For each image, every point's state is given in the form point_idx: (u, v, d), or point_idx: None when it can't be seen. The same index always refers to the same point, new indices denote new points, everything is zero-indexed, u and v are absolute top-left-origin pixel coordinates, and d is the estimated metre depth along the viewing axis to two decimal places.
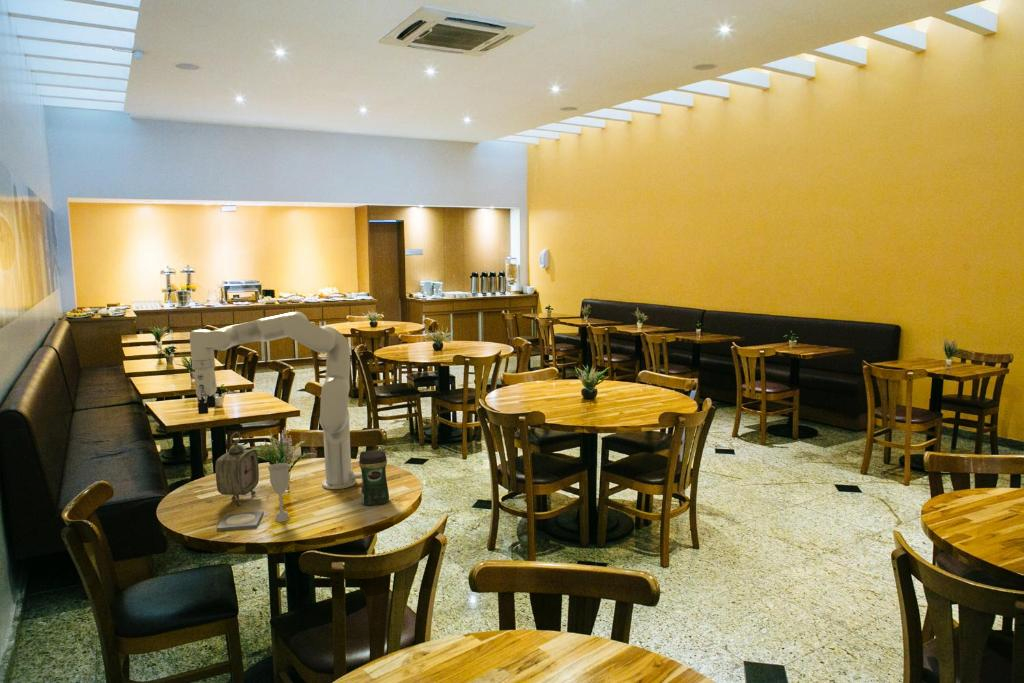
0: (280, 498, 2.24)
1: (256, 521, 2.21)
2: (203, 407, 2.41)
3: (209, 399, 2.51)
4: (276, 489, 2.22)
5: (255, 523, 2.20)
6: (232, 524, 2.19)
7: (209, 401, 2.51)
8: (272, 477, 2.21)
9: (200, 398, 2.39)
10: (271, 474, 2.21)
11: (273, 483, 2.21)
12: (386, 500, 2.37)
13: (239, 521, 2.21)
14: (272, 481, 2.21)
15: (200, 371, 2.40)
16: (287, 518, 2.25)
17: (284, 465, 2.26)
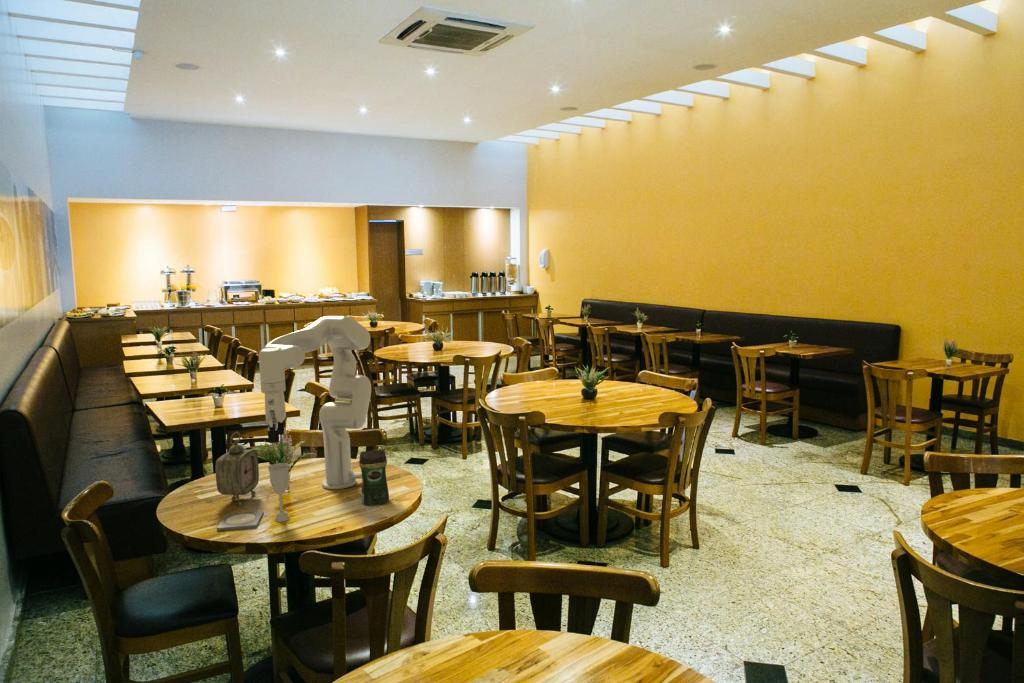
0: (280, 498, 2.24)
1: (256, 521, 2.21)
2: (274, 435, 2.16)
3: (277, 425, 2.26)
4: (276, 489, 2.22)
5: (255, 523, 2.20)
6: (232, 524, 2.19)
7: (277, 427, 2.26)
8: (272, 477, 2.21)
9: (271, 425, 2.13)
10: (271, 474, 2.21)
11: (273, 483, 2.21)
12: (386, 500, 2.37)
13: (239, 521, 2.21)
14: (272, 481, 2.21)
15: (271, 395, 2.15)
16: (287, 518, 2.25)
17: (284, 465, 2.26)
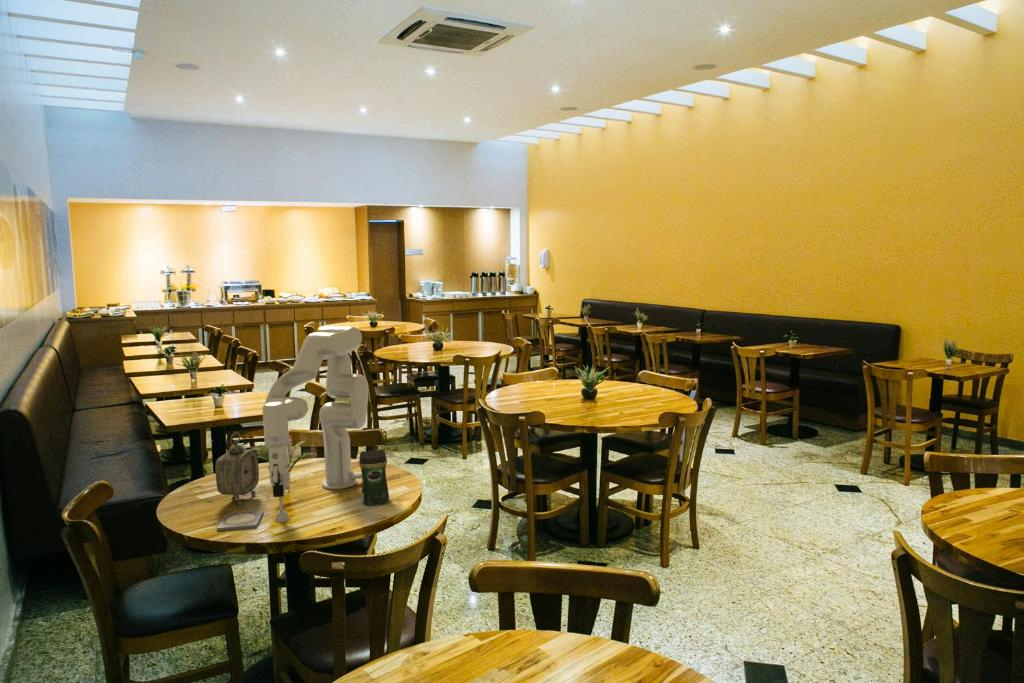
0: (280, 498, 2.24)
1: (256, 521, 2.21)
2: (278, 490, 2.20)
3: None
4: None
5: (255, 523, 2.20)
6: (232, 524, 2.19)
7: None
8: (272, 477, 2.21)
9: (276, 481, 2.17)
10: None
11: None
12: (386, 500, 2.37)
13: (239, 521, 2.21)
14: (272, 481, 2.21)
15: (274, 449, 2.18)
16: (287, 518, 2.25)
17: None
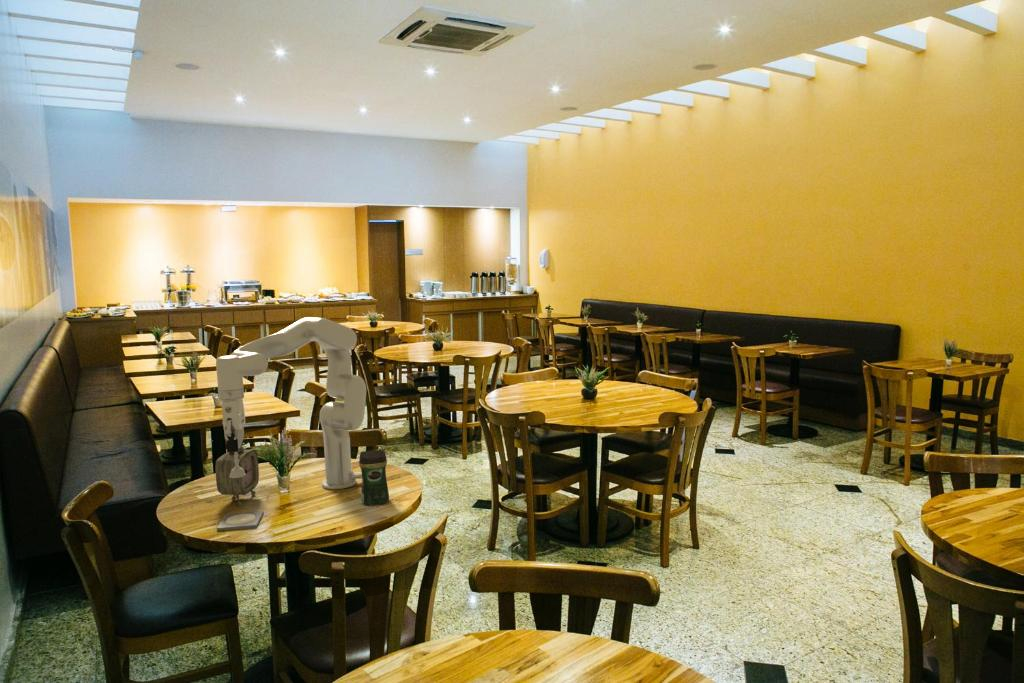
0: (235, 454, 2.20)
1: (256, 521, 2.21)
2: (233, 445, 2.16)
3: None
4: None
5: (255, 523, 2.20)
6: (232, 524, 2.19)
7: None
8: None
9: (230, 435, 2.13)
10: None
11: None
12: (386, 500, 2.37)
13: (239, 521, 2.21)
14: (226, 436, 2.17)
15: (228, 403, 2.14)
16: (242, 474, 2.21)
17: None
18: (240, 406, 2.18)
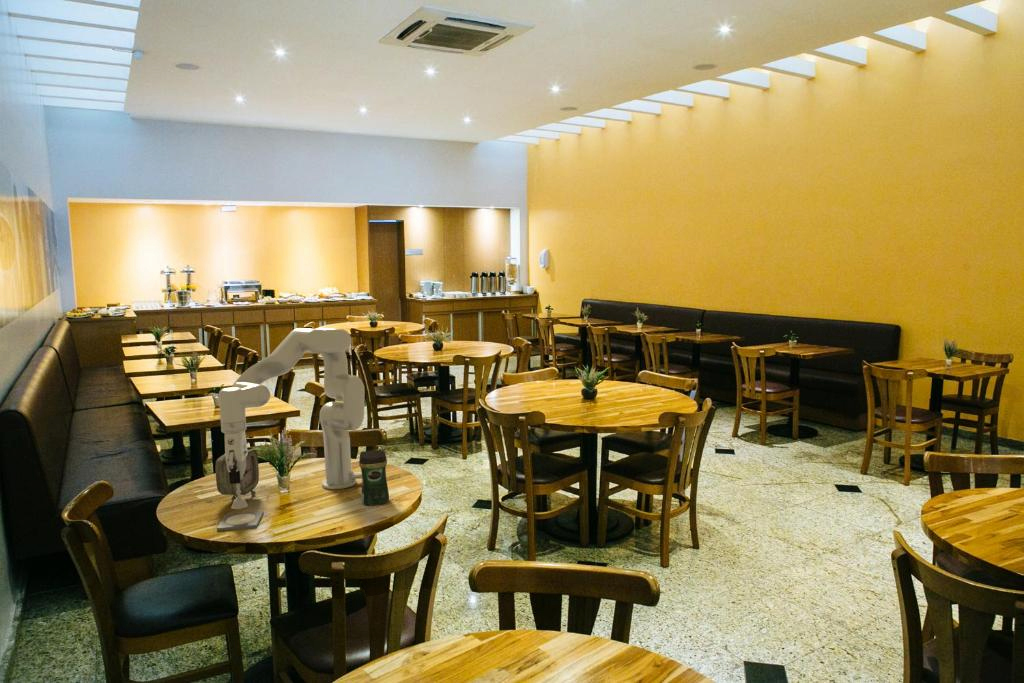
0: (237, 485, 2.21)
1: (256, 521, 2.21)
2: (235, 476, 2.17)
3: None
4: None
5: (255, 523, 2.20)
6: (232, 524, 2.19)
7: None
8: None
9: (232, 468, 2.15)
10: None
11: None
12: (386, 500, 2.37)
13: (239, 521, 2.21)
14: (228, 468, 2.18)
15: (230, 435, 2.15)
16: (244, 505, 2.22)
17: None
18: (242, 438, 2.19)
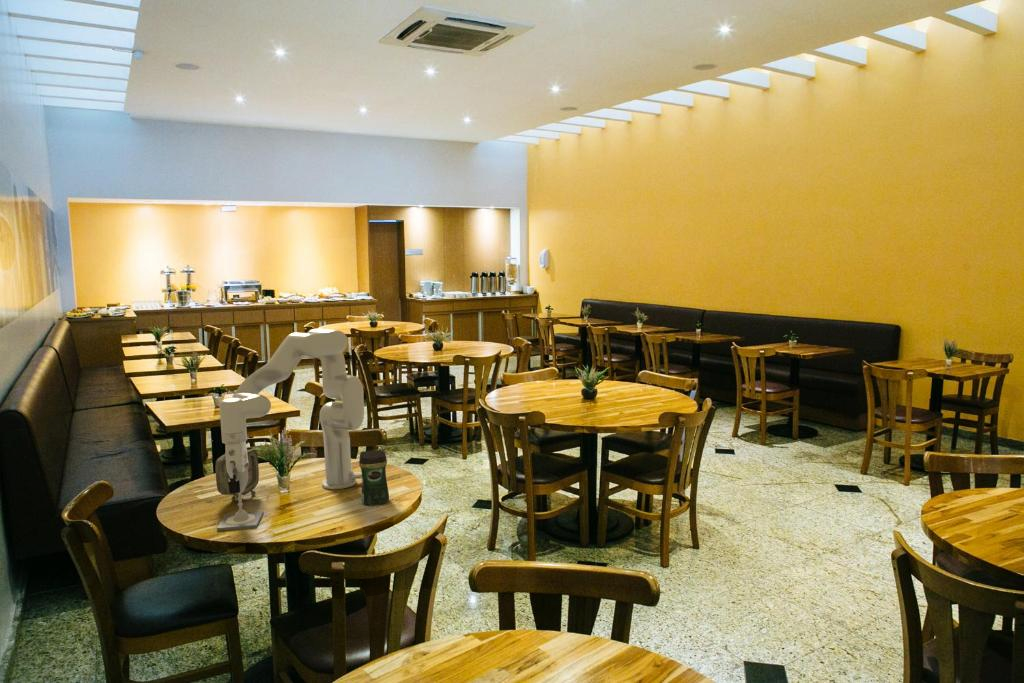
0: (239, 498, 2.22)
1: (256, 521, 2.21)
2: (234, 486, 2.16)
3: None
4: None
5: (255, 523, 2.20)
6: (232, 524, 2.19)
7: None
8: None
9: (231, 477, 2.14)
10: None
11: None
12: (386, 500, 2.37)
13: None
14: None
15: (231, 446, 2.15)
16: (246, 518, 2.23)
17: None
18: (243, 448, 2.19)
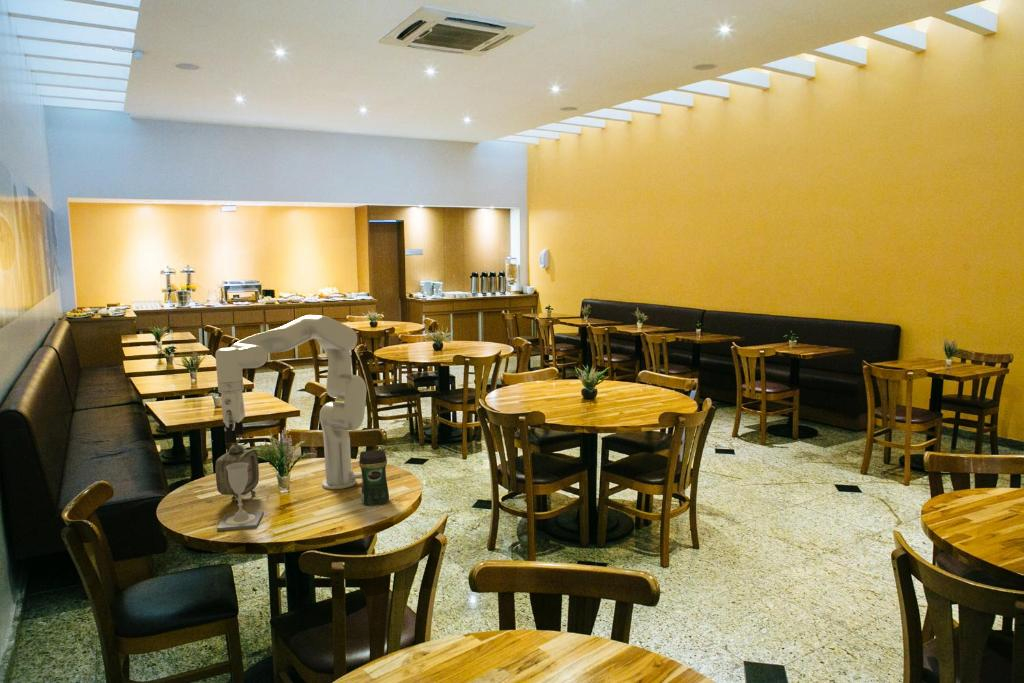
0: (239, 498, 2.22)
1: (256, 521, 2.21)
2: (231, 435, 2.14)
3: (236, 425, 2.24)
4: (234, 489, 2.20)
5: (255, 523, 2.20)
6: (232, 524, 2.19)
7: (236, 427, 2.24)
8: (230, 477, 2.19)
9: (228, 425, 2.11)
10: (229, 473, 2.19)
11: (231, 482, 2.19)
12: (386, 500, 2.37)
13: None
14: (230, 480, 2.19)
15: (227, 395, 2.13)
16: (246, 518, 2.23)
17: (244, 464, 2.24)
18: (239, 398, 2.17)
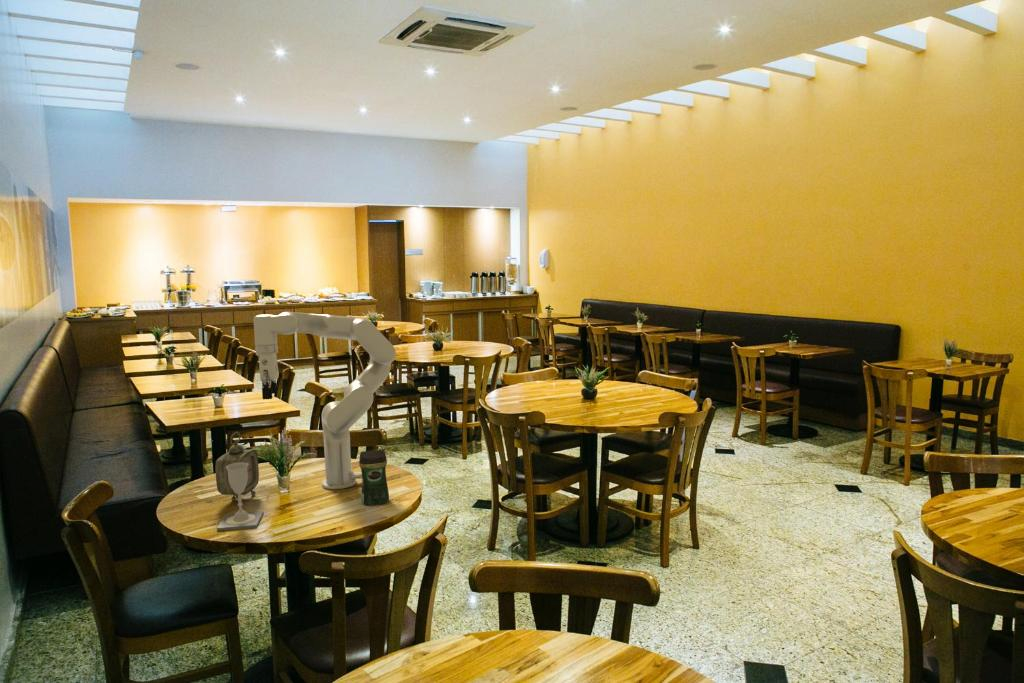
0: (239, 498, 2.22)
1: (256, 521, 2.21)
2: (267, 392, 2.39)
3: (271, 385, 2.49)
4: (234, 489, 2.20)
5: (255, 523, 2.20)
6: (232, 524, 2.19)
7: (271, 387, 2.49)
8: (230, 477, 2.19)
9: (265, 383, 2.37)
10: (229, 473, 2.19)
11: (231, 482, 2.19)
12: (386, 500, 2.37)
13: None
14: (230, 480, 2.19)
15: (264, 356, 2.39)
16: (246, 518, 2.23)
17: (244, 464, 2.24)
18: (275, 360, 2.43)
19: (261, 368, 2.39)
